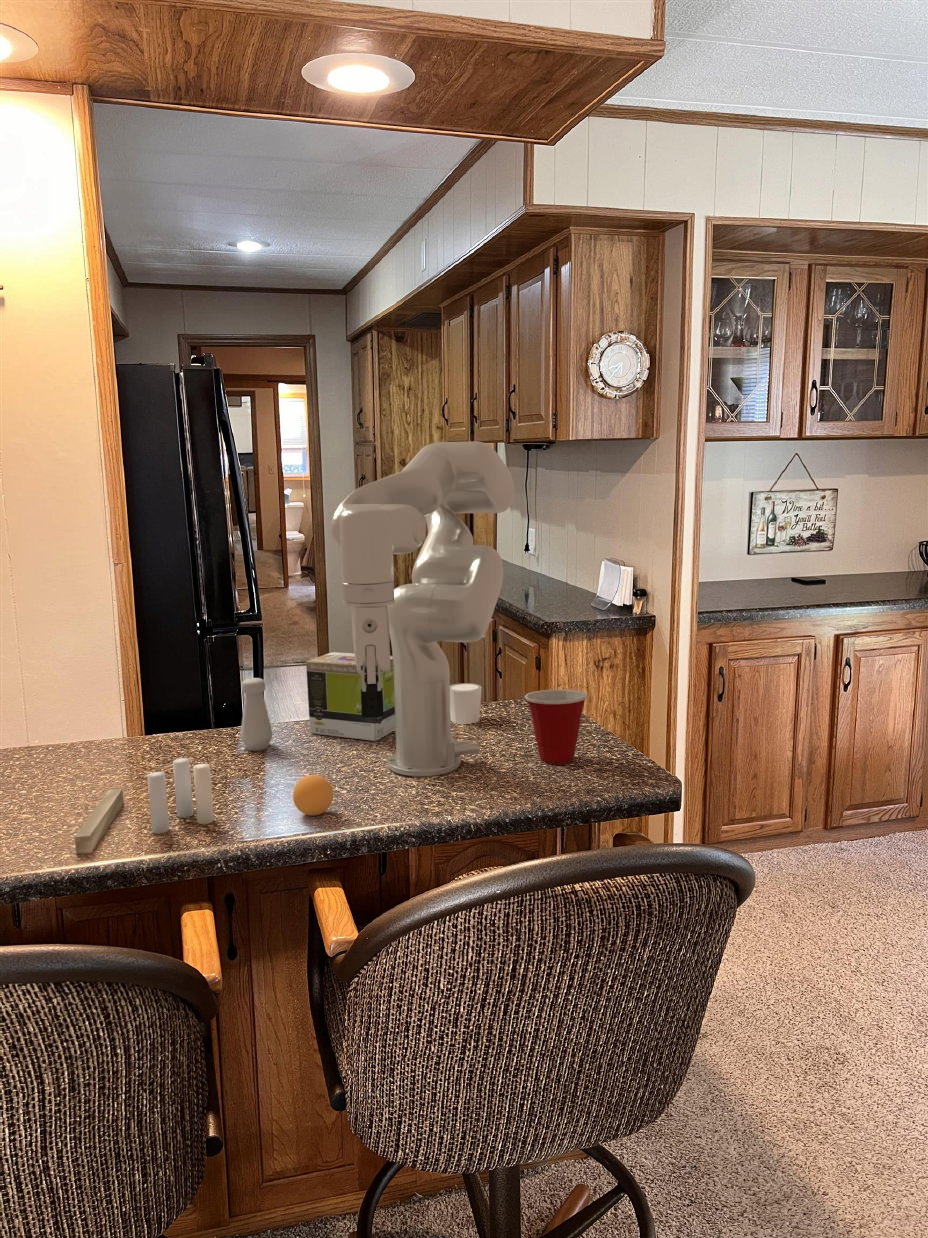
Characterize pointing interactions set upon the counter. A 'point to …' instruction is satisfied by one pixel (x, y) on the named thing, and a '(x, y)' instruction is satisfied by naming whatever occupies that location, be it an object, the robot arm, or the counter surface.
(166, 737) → the counter surface
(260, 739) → the salt shaker
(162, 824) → the pin
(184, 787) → the pin
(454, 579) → the robot arm
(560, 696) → the plastic cup
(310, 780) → the ball
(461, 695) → the white cylinder
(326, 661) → the tea box
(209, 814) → the front pin
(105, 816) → the back rail
